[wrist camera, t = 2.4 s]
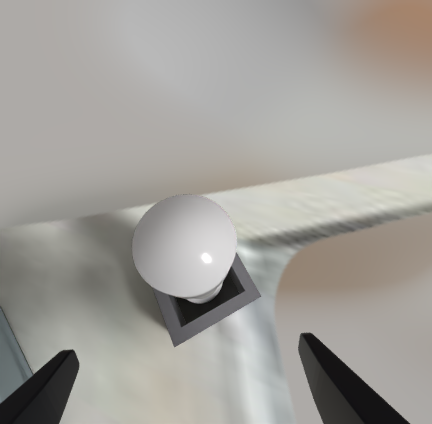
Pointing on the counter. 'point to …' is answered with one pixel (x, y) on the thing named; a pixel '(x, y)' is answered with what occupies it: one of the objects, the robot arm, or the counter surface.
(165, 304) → the light bulb socket
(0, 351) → the parts tray
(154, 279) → the white rounded column
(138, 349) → the counter surface
